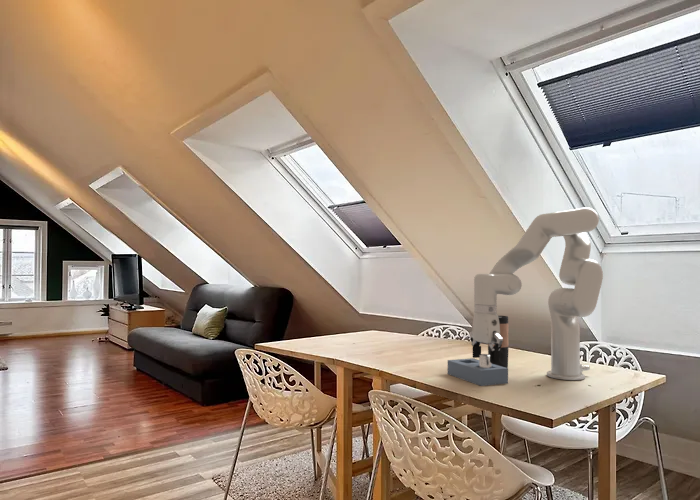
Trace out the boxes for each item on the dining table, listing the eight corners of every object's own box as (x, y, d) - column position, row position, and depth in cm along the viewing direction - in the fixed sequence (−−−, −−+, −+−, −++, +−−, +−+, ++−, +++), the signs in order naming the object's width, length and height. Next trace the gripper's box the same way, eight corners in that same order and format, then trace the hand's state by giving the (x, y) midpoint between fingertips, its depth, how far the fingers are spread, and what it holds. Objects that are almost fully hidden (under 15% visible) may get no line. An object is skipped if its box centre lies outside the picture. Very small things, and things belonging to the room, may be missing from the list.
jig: (472, 371, 196) (472, 358, 196) (508, 383, 178) (508, 368, 178) (447, 373, 192) (447, 360, 192) (480, 385, 174) (480, 370, 174)
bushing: (486, 379, 183) (486, 353, 183) (493, 382, 179) (493, 355, 179) (477, 380, 181) (477, 354, 182) (484, 383, 178) (484, 356, 178)
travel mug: (502, 371, 198) (502, 317, 198) (484, 368, 203) (484, 316, 203) (512, 368, 203) (511, 316, 204) (493, 365, 208) (493, 314, 209)
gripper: (510, 311, 174) (510, 363, 174) (479, 307, 190) (479, 355, 190) (492, 312, 172) (492, 365, 171) (461, 308, 188) (461, 356, 187)
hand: (485, 359), depth 180 cm, fingers open, 9 cm apart
